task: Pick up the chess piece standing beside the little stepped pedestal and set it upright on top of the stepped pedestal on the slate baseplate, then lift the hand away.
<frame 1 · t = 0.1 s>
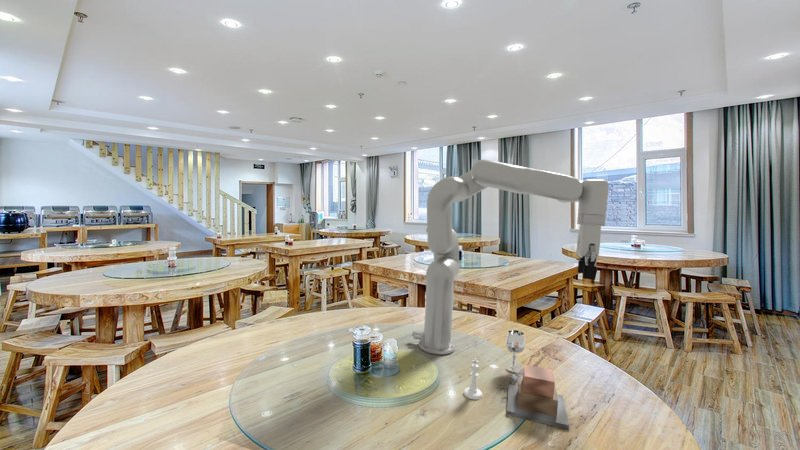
hand: (585, 275, 110), 31 cm above the table, tool pointing down, fingers open, 9 cm apart
chess piece: (472, 395, 96), on the table
stepped pedestal: (535, 406, 92), on the table
wineglass: (513, 370, 112), on the table
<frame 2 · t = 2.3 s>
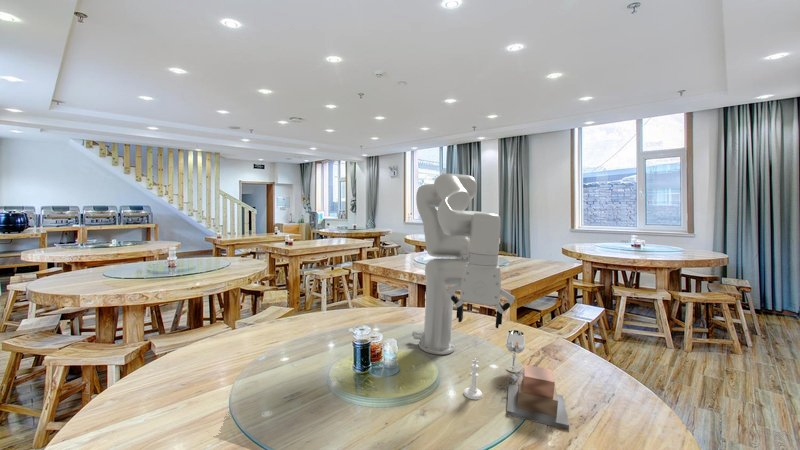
hand: (478, 323, 95), 20 cm above the table, tool pointing down, fingers open, 9 cm apart
nothing on the table moved.
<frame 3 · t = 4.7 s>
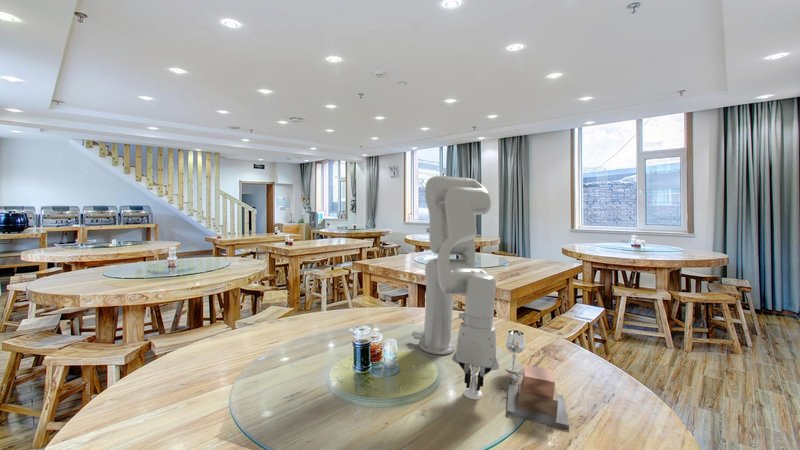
hand: (473, 386, 96), 2 cm above the table, tool pointing down, fingers closed on chess piece
chess piece: (472, 395, 96), on the table, touching gripper
everything else where it was.
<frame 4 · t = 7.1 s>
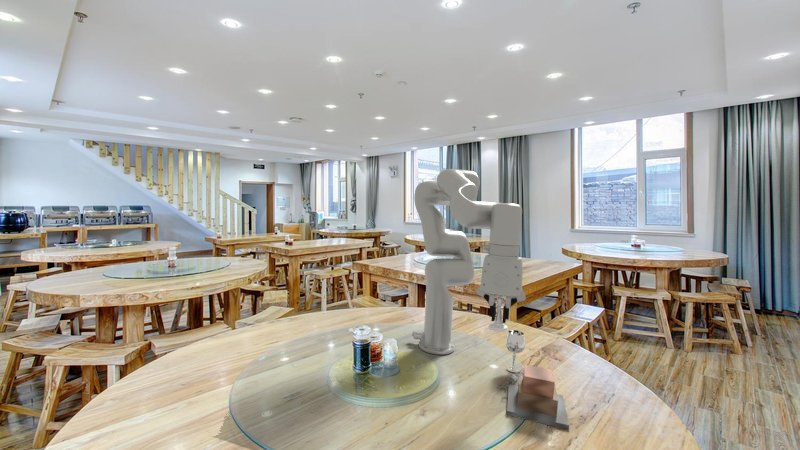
hand: (498, 320, 93), 21 cm above the table, tool pointing down, fingers closed on chess piece
chess piece: (497, 329, 93), point 19 cm above the table, touching gripper
everything else where it was.
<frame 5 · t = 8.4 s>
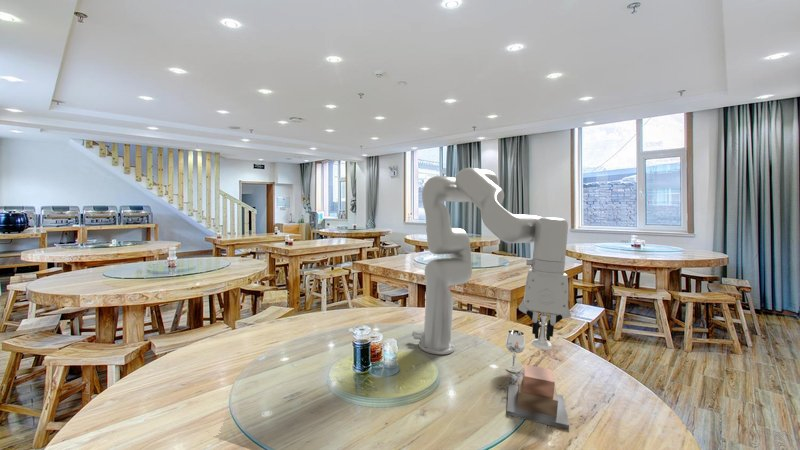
hand: (542, 337, 91), 18 cm above the table, tool pointing down, fingers closed on chess piece
chess piece: (541, 346, 91), point 16 cm above the table, touching gripper
everything else where it was.
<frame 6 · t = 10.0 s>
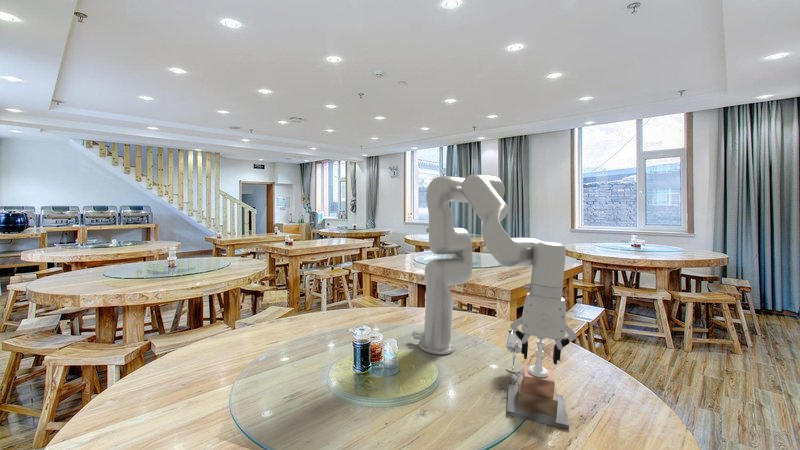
hand: (539, 359, 91), 13 cm above the table, tool pointing down, fingers open, 6 cm apart
chess piece: (538, 373, 92), point 9 cm above the table, touching stepped pedestal
everything else where it was.
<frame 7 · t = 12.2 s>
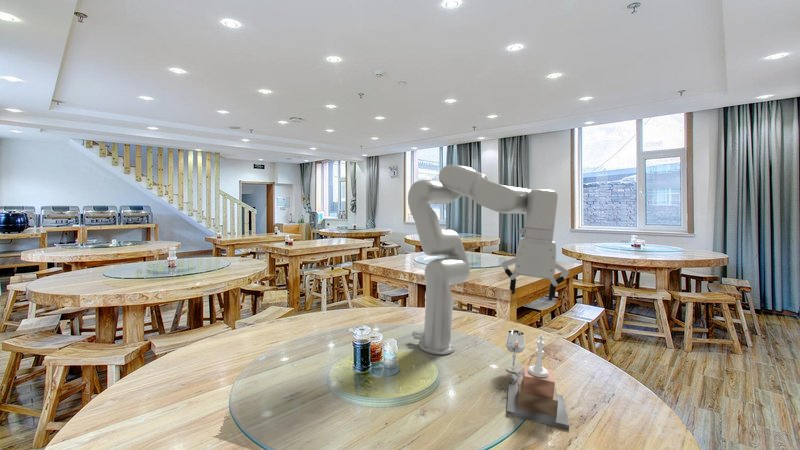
hand: (531, 296, 99), 27 cm above the table, tool pointing down, fingers open, 9 cm apart
nothing on the table moved.
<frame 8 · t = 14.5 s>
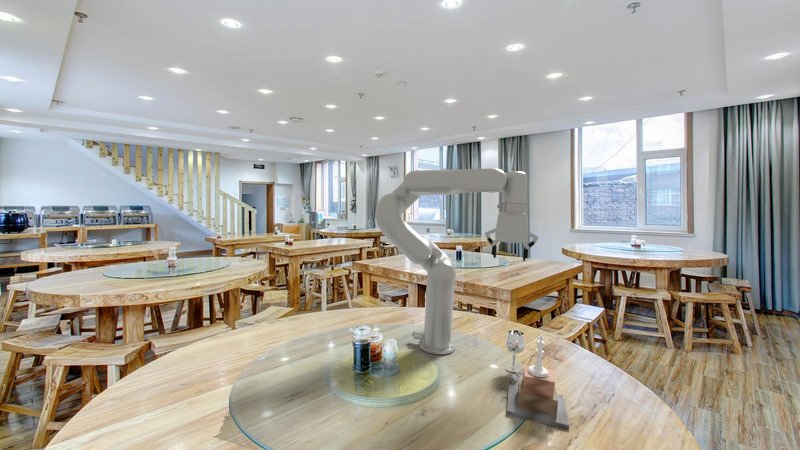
hand: (509, 258, 121), 33 cm above the table, tool pointing down, fingers open, 9 cm apart
nothing on the table moved.
at the end: chess piece 0.2 cm off-centre on the stepped pedestal, point 8.8 cm above the stepped pedestal's base; chess piece tilted 0°; the gripper is holding nothing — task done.
